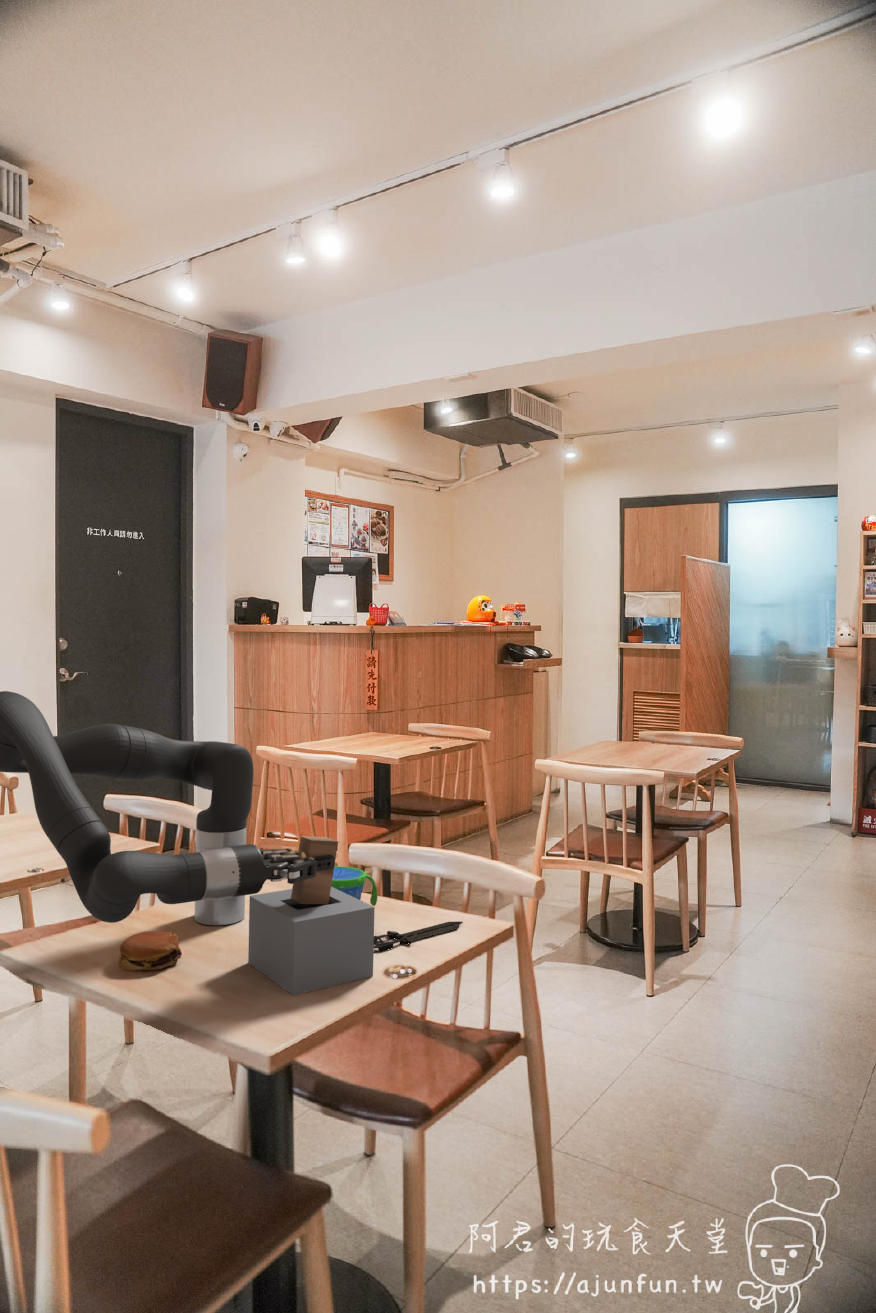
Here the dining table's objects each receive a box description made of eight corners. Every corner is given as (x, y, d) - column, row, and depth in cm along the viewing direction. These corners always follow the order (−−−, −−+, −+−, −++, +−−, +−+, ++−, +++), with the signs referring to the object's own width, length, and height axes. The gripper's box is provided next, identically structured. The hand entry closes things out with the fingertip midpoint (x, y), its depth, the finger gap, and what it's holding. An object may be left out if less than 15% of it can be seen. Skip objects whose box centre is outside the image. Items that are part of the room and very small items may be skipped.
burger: (107, 963, 143) (108, 934, 143) (157, 949, 150) (158, 922, 150) (141, 979, 137) (142, 949, 137) (192, 964, 144) (193, 935, 144)
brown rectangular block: (289, 898, 142) (299, 835, 142) (317, 898, 145) (327, 837, 146) (299, 903, 139) (310, 840, 140) (328, 903, 142) (338, 841, 143)
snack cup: (369, 915, 171) (370, 862, 171) (384, 932, 161) (385, 877, 161) (288, 921, 166) (290, 868, 166) (299, 940, 156) (300, 882, 156)
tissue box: (248, 962, 145) (249, 895, 144) (323, 946, 153) (325, 883, 153) (293, 995, 132) (294, 921, 131) (372, 976, 140) (374, 907, 140)
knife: (458, 923, 169) (458, 916, 169) (479, 933, 164) (479, 925, 163) (343, 947, 154) (343, 939, 154) (363, 959, 149) (363, 951, 148)
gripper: (247, 857, 128) (350, 844, 138) (209, 838, 139) (307, 827, 149) (245, 908, 128) (348, 892, 138) (208, 886, 139) (306, 872, 149)
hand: (326, 858), depth 144 cm, fingers closed on brown rectangular block, 3 cm apart
